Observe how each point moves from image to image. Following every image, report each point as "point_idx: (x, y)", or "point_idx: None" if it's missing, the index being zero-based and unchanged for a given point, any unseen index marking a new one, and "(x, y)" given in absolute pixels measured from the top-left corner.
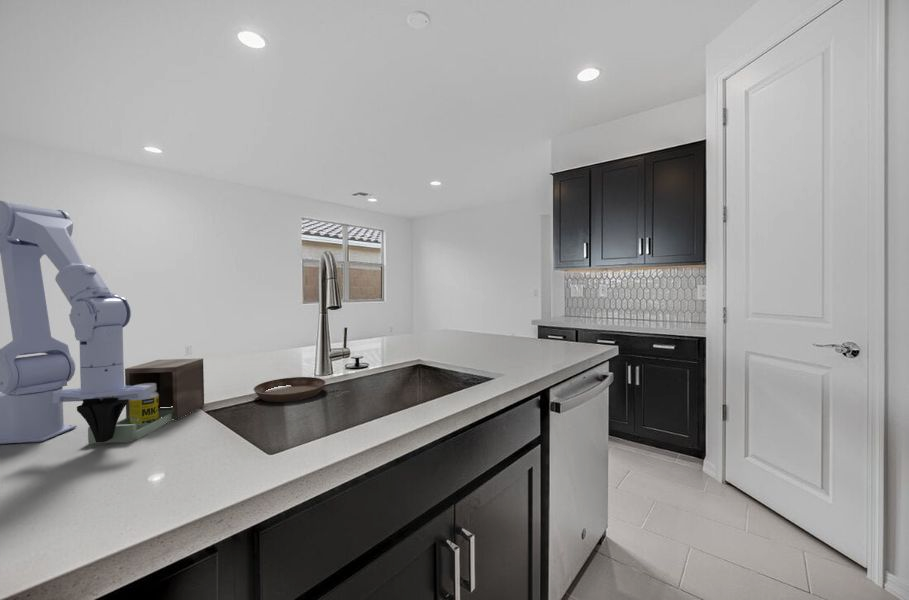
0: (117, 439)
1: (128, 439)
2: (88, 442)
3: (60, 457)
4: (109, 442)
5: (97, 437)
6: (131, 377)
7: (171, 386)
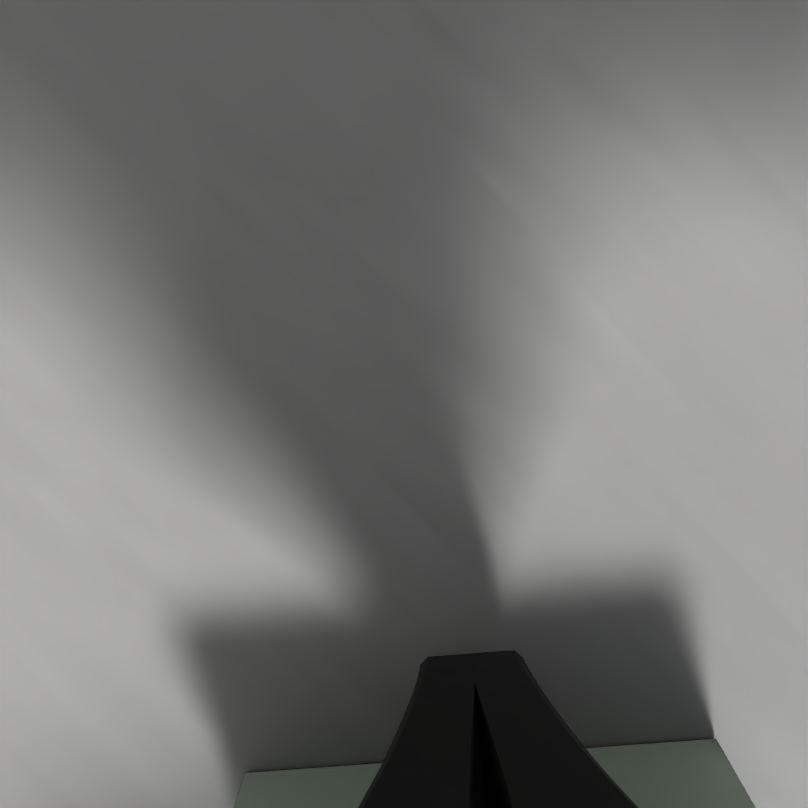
0: None
1: (295, 790)
2: (719, 749)
3: (715, 384)
4: None
5: (491, 681)
6: None
7: None
